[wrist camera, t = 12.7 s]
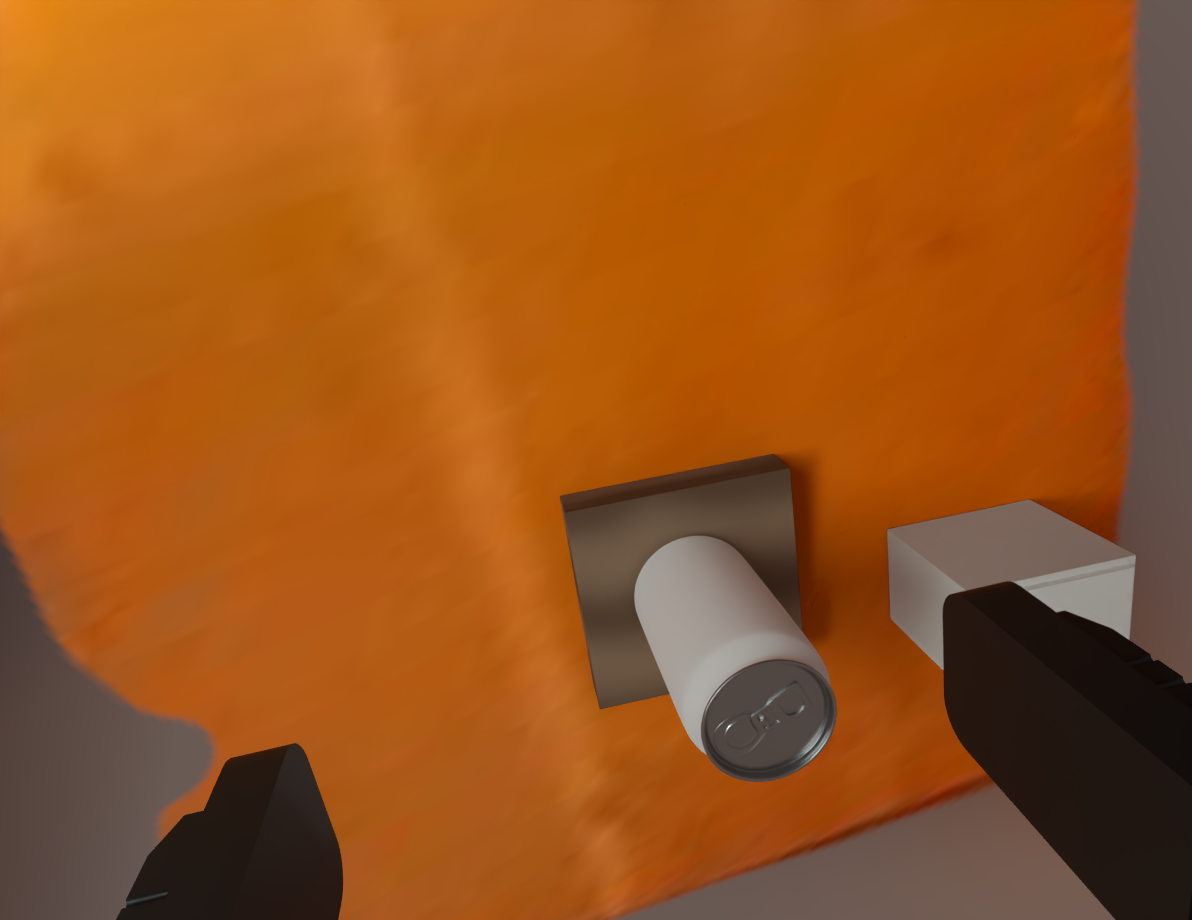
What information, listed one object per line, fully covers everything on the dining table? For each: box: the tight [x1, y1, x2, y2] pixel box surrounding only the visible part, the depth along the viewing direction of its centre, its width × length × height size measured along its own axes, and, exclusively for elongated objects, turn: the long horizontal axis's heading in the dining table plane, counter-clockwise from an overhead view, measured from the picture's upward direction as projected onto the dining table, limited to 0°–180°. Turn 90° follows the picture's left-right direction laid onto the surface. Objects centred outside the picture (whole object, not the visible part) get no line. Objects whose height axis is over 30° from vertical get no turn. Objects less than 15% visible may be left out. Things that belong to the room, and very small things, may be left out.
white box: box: [887, 500, 1136, 671], centre depth 44 cm, size 6×9×8 cm, turn 99°
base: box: [560, 454, 802, 709], centre depth 44 cm, size 12×12×2 cm
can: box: [634, 536, 837, 782], centre depth 37 cm, size 6×6×12 cm
